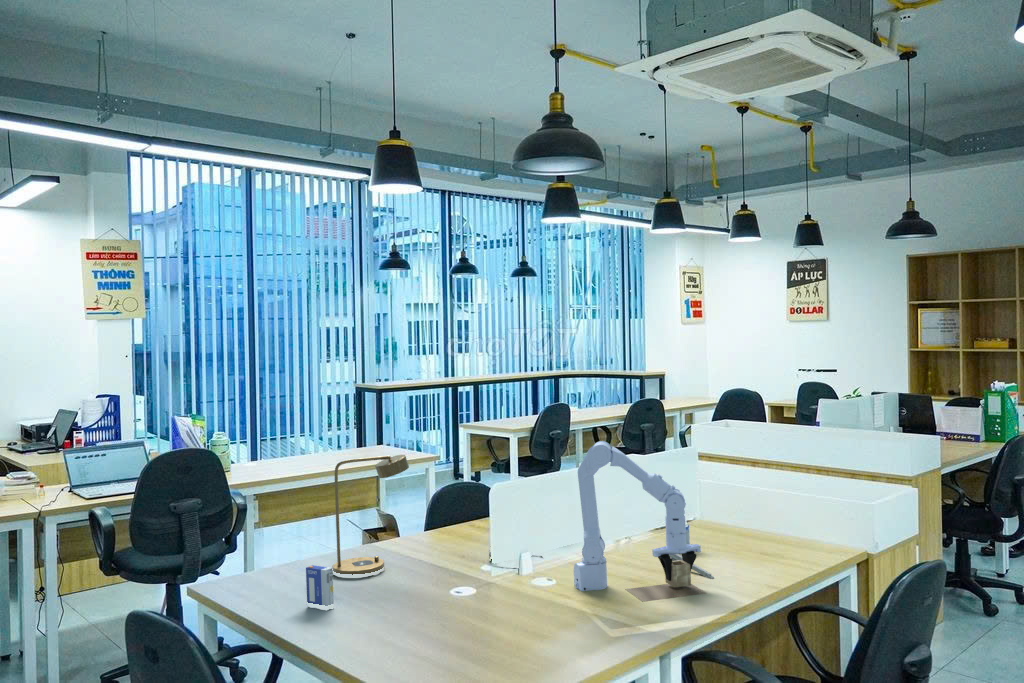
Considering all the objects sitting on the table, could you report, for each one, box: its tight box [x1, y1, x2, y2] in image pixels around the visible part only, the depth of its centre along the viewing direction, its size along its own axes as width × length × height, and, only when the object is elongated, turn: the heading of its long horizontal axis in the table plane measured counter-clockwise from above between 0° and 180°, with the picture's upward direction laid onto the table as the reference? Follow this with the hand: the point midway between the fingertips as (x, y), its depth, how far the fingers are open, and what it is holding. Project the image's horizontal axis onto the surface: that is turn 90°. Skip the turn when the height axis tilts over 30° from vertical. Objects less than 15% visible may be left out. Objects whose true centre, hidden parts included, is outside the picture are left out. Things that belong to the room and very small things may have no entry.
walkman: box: [305, 564, 335, 606], centre depth 223 cm, size 8×3×12 cm, turn 60°
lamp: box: [331, 454, 410, 575], centre depth 262 cm, size 17×27×38 cm, turn 113°
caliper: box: [669, 554, 715, 580], centre depth 246 cm, size 20×1×6 cm, turn 31°
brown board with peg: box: [625, 583, 707, 603], centre depth 222 cm, size 20×12×7 cm, turn 105°
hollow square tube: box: [664, 560, 692, 587], centre depth 225 cm, size 5×5×6 cm
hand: (677, 578), depth 225 cm, fingers closed on hollow square tube, 5 cm apart
